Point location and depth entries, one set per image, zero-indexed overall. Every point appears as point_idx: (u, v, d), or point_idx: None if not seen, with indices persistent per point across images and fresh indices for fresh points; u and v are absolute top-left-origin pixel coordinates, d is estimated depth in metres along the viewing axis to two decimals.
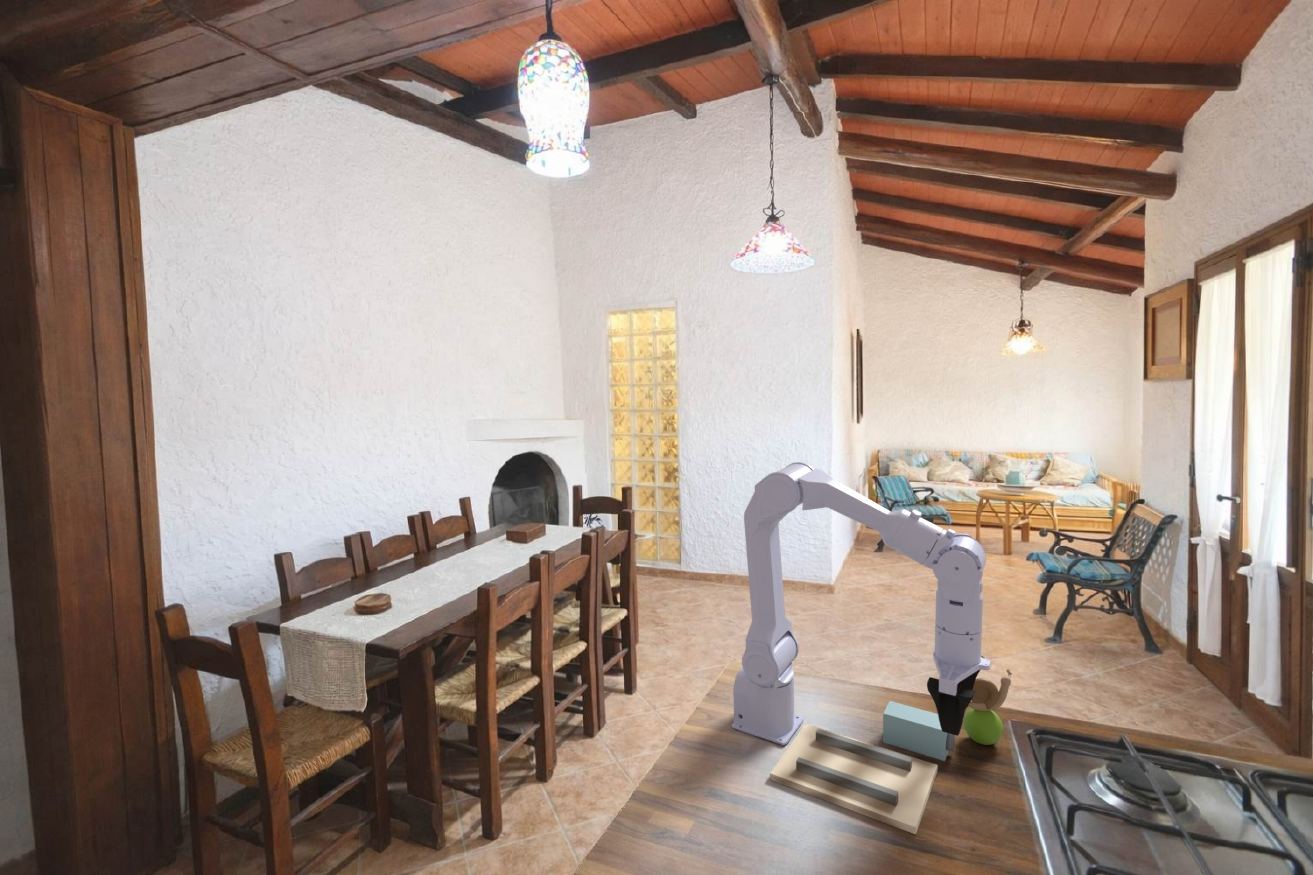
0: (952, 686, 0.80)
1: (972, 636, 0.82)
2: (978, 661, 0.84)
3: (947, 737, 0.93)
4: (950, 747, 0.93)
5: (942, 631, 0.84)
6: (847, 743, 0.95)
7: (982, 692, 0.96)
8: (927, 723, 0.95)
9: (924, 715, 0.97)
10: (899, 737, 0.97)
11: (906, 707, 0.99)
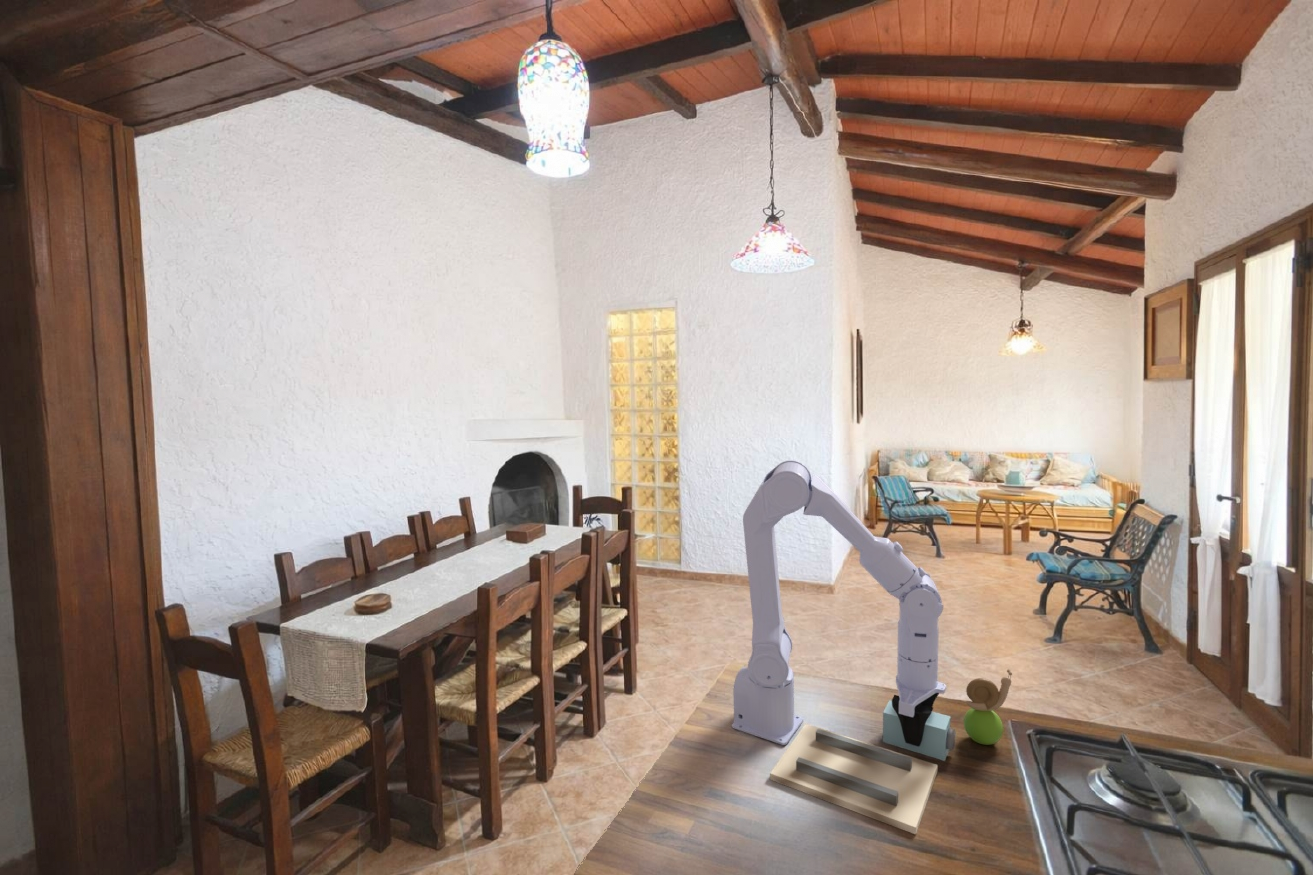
0: (910, 709, 0.90)
1: (929, 663, 0.93)
2: (935, 685, 0.94)
3: (947, 736, 0.93)
4: (950, 746, 0.93)
5: (903, 658, 0.94)
6: (847, 743, 0.95)
7: (983, 692, 0.96)
8: (926, 722, 0.95)
9: None
10: (899, 736, 0.97)
11: None
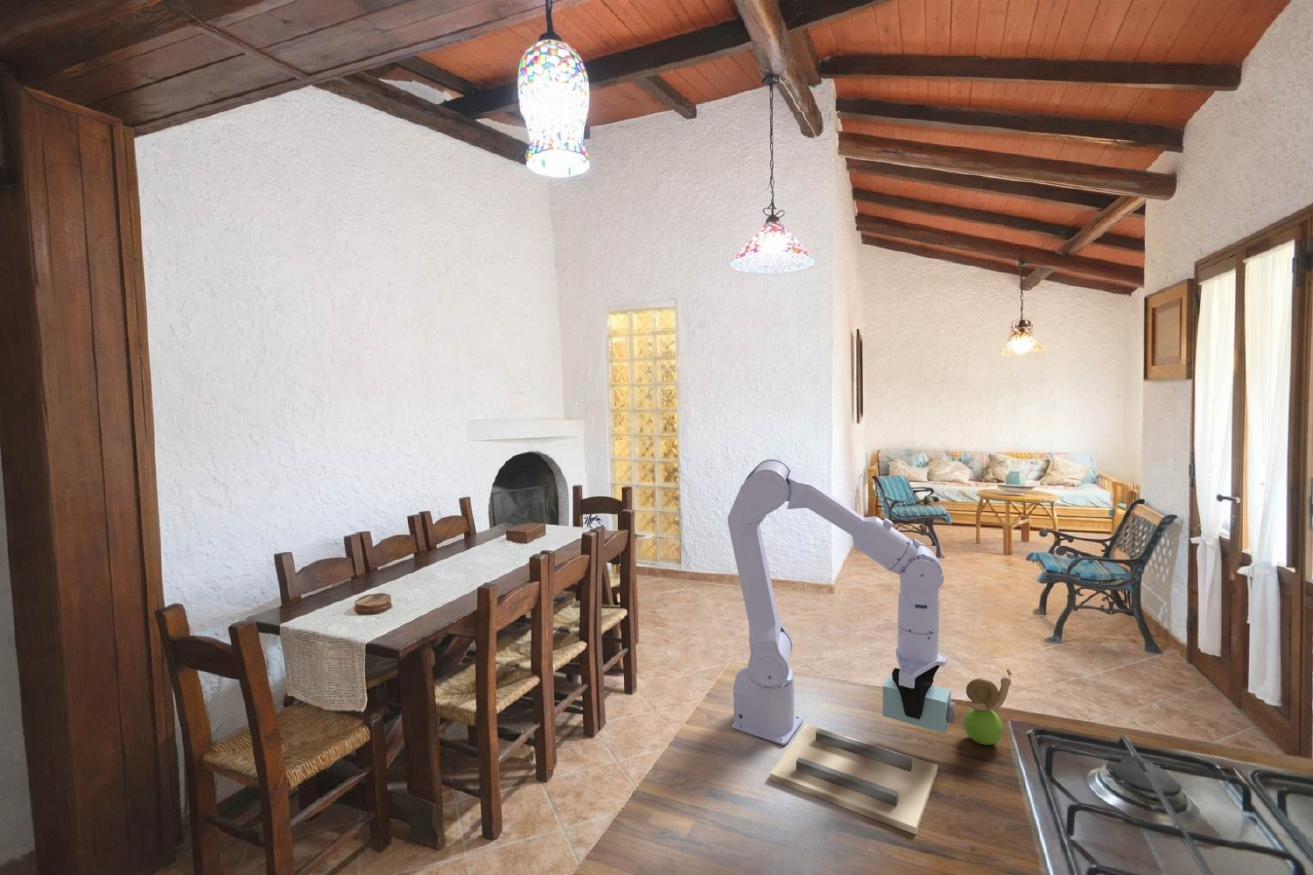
0: (910, 680, 0.89)
1: (929, 635, 0.92)
2: (935, 658, 0.93)
3: (947, 709, 0.93)
4: (950, 719, 0.92)
5: (903, 631, 0.94)
6: (847, 743, 0.95)
7: (982, 692, 0.96)
8: (927, 695, 0.94)
9: None
10: (899, 709, 0.96)
11: None
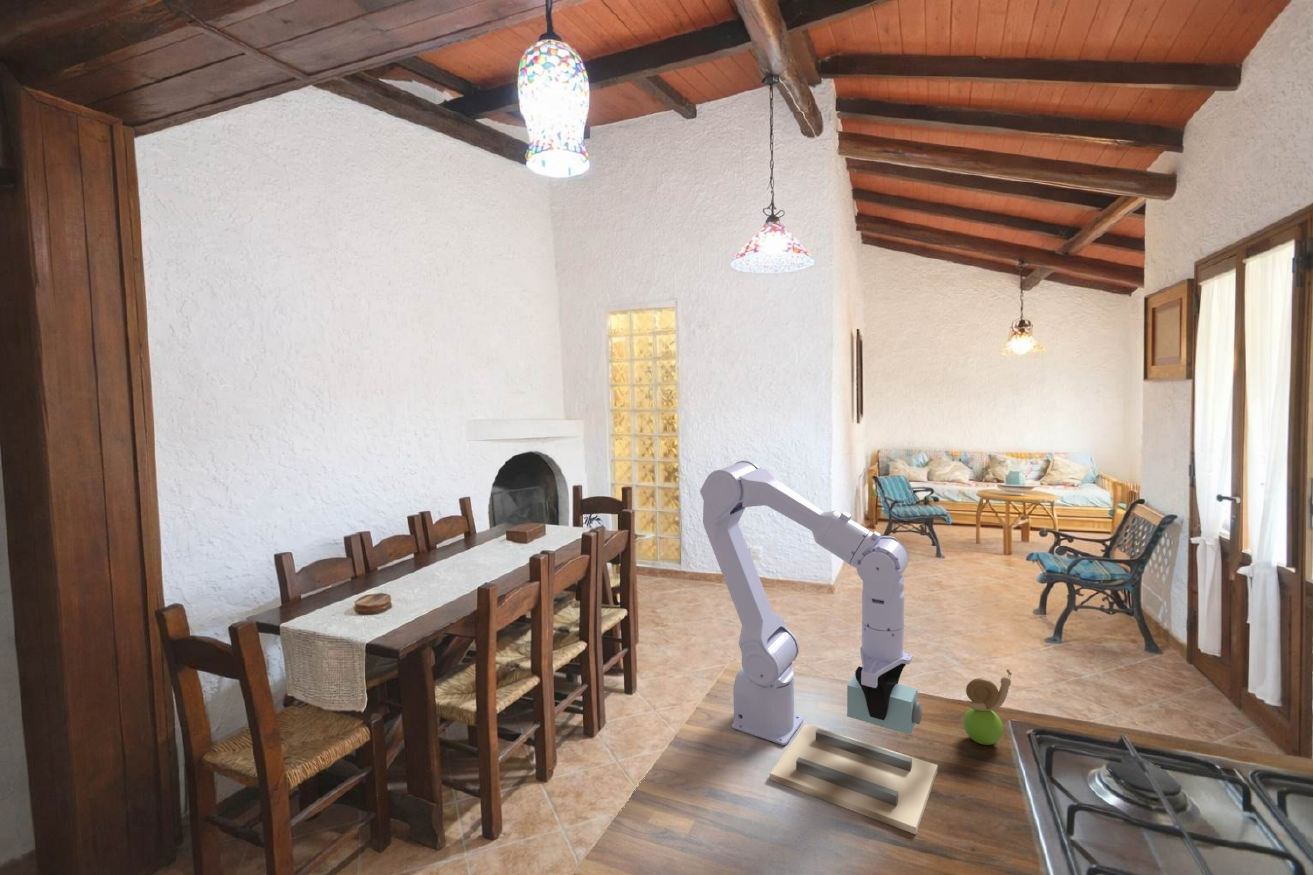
0: (873, 679, 0.85)
1: (893, 632, 0.88)
2: (900, 656, 0.89)
3: (913, 709, 0.89)
4: (916, 719, 0.88)
5: (867, 628, 0.90)
6: (847, 743, 0.95)
7: (982, 692, 0.96)
8: (892, 694, 0.90)
9: None
10: (863, 709, 0.92)
11: None
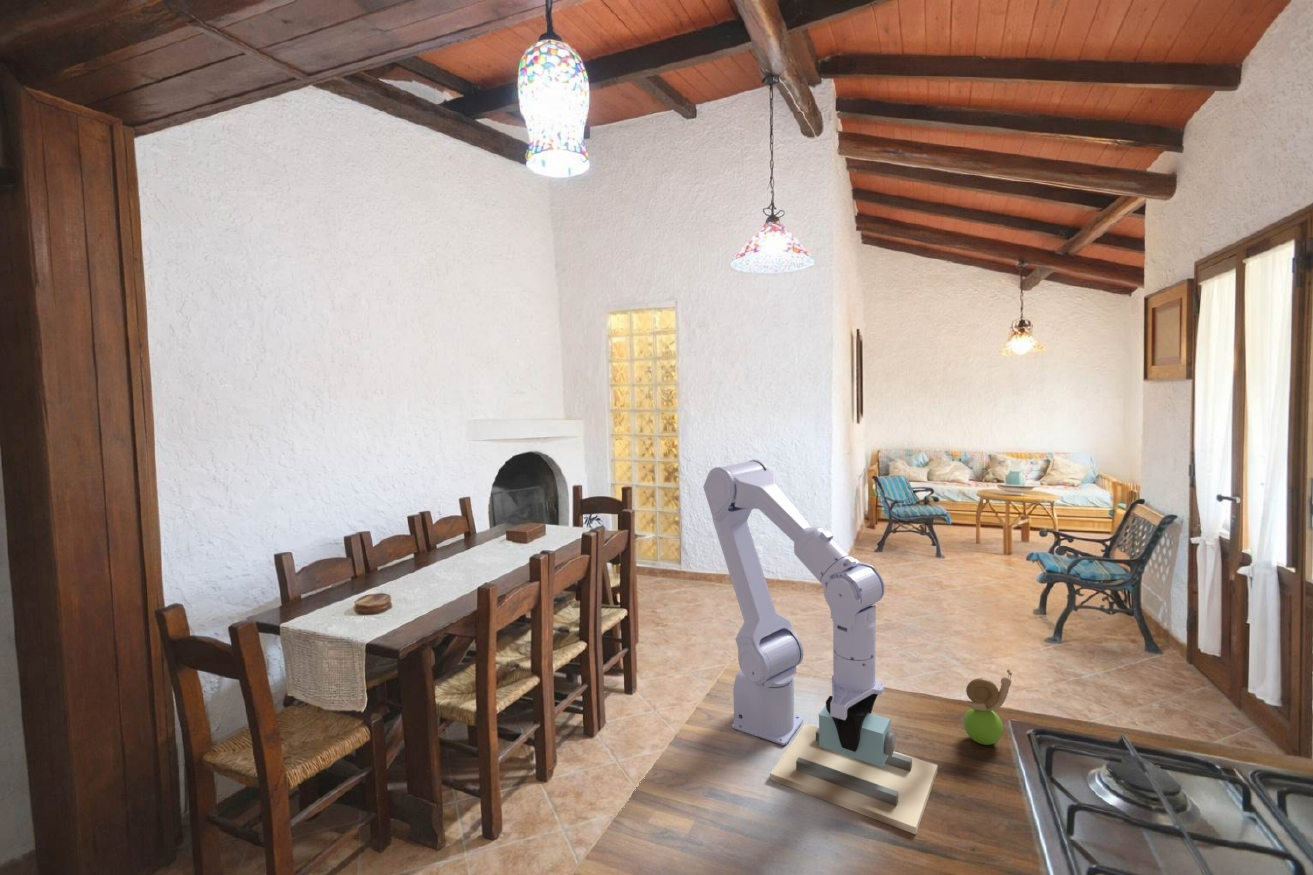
0: (842, 711, 0.83)
1: (864, 662, 0.86)
2: (871, 685, 0.87)
3: (885, 740, 0.86)
4: (888, 751, 0.86)
5: (837, 657, 0.87)
6: None
7: (983, 692, 0.96)
8: (864, 725, 0.88)
9: None
10: (835, 740, 0.90)
11: None
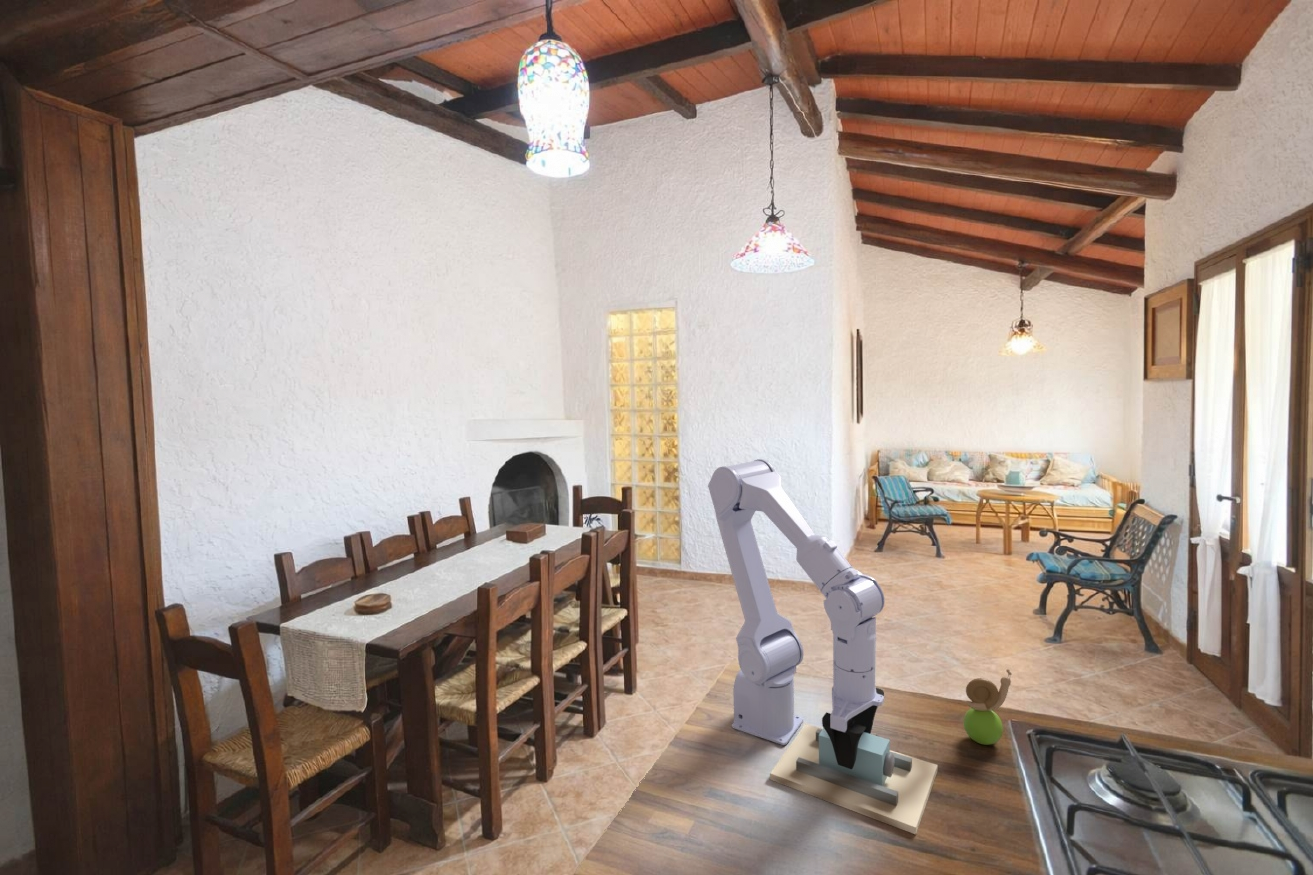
0: (842, 723, 0.83)
1: (864, 674, 0.86)
2: (871, 697, 0.87)
3: (884, 762, 0.87)
4: (887, 772, 0.86)
5: (837, 668, 0.87)
6: None
7: (982, 692, 0.96)
8: (863, 746, 0.88)
9: (862, 737, 0.90)
10: (835, 760, 0.90)
11: None
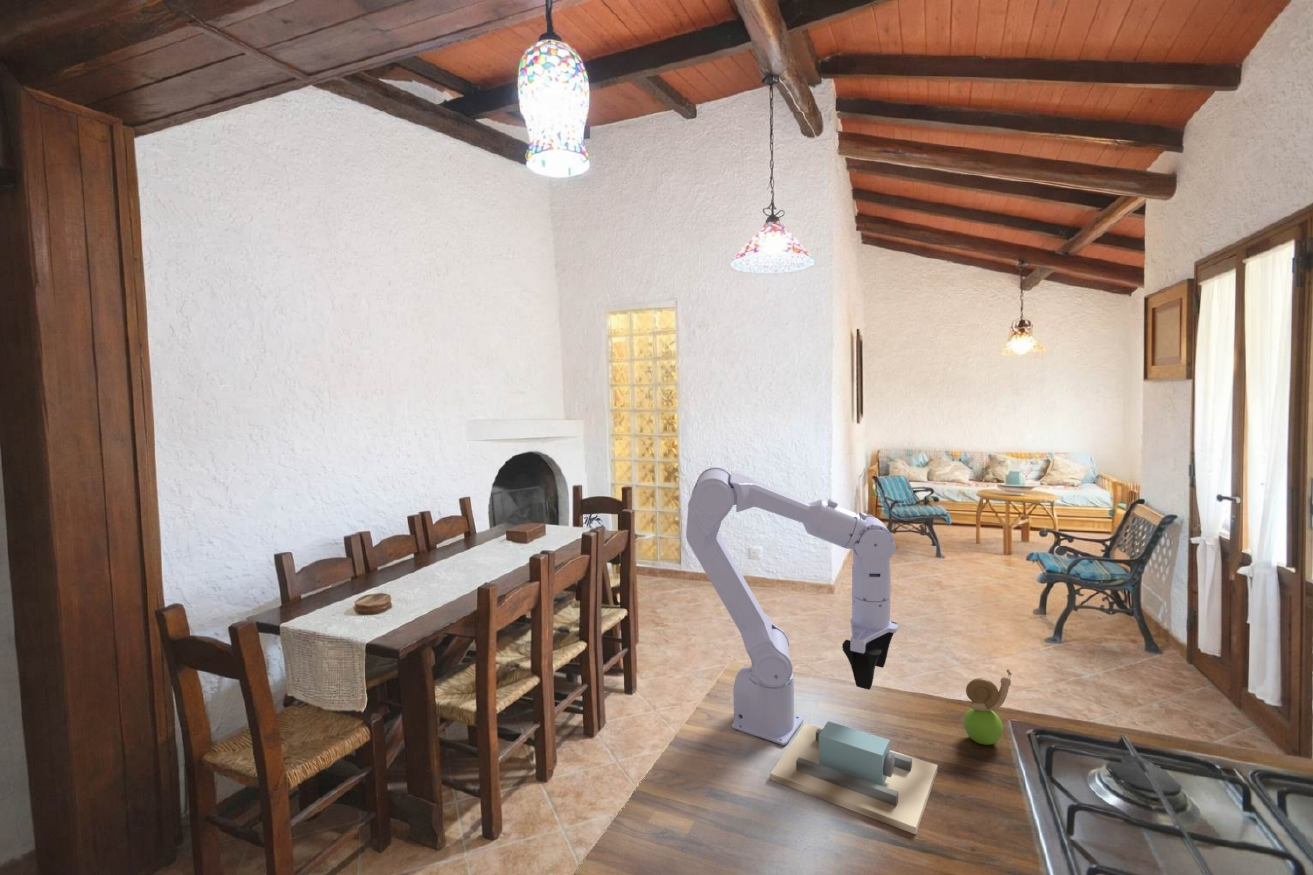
0: (861, 645, 0.92)
1: (880, 603, 0.95)
2: (887, 625, 0.96)
3: (884, 762, 0.87)
4: (887, 772, 0.86)
5: (856, 599, 0.97)
6: None
7: (982, 692, 0.96)
8: (863, 746, 0.88)
9: (862, 737, 0.90)
10: (835, 760, 0.90)
11: (844, 728, 0.92)
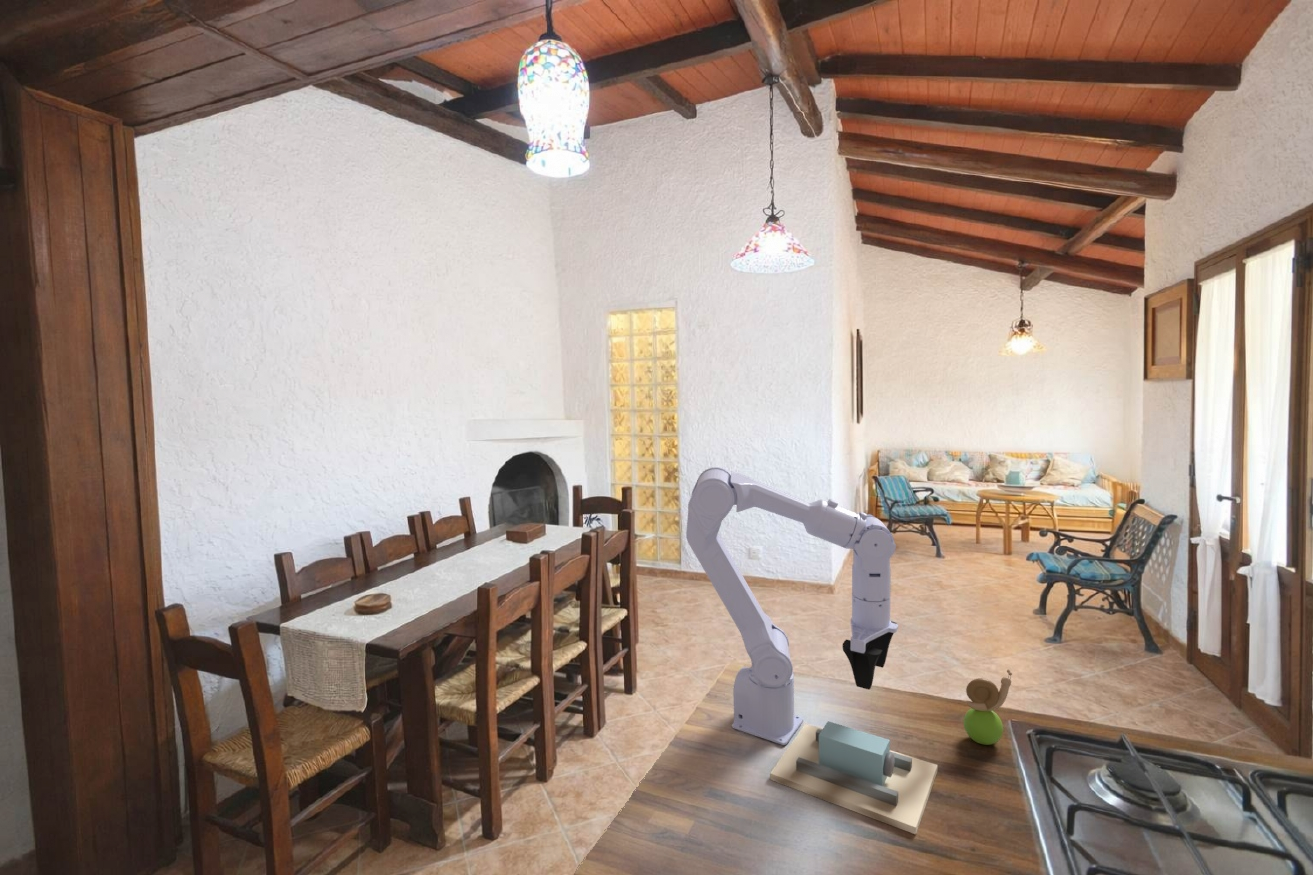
0: (861, 645, 0.93)
1: (880, 603, 0.95)
2: (887, 625, 0.96)
3: (884, 762, 0.87)
4: (887, 772, 0.86)
5: (856, 599, 0.97)
6: None
7: (983, 692, 0.96)
8: (863, 746, 0.88)
9: (862, 737, 0.90)
10: (835, 760, 0.90)
11: (844, 728, 0.92)
